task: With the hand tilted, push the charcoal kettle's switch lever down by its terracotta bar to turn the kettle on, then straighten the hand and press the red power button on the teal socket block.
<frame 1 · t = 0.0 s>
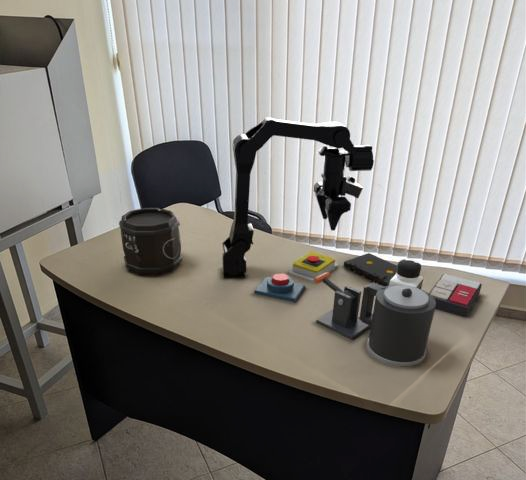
hand: (328, 224, 146), 15 cm above the table, tool pointing down, fingers open, 9 cm apart
kettle switch: (335, 288, 123), point 9 cm above the table, hinge at 18.0°
socket block: (279, 292, 140), on the table
power button: (280, 279, 138), point 4 cm above the table, slide at 0.1 cm
kettle: (395, 349, 117), on the table
switch base: (343, 325, 126), on the table
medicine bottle: (402, 302, 137), on the table
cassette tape: (377, 273, 152), on the table
emergency button: (313, 270, 153), on the table
calculator: (452, 300, 138), on the table
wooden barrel: (154, 264, 154), on the table
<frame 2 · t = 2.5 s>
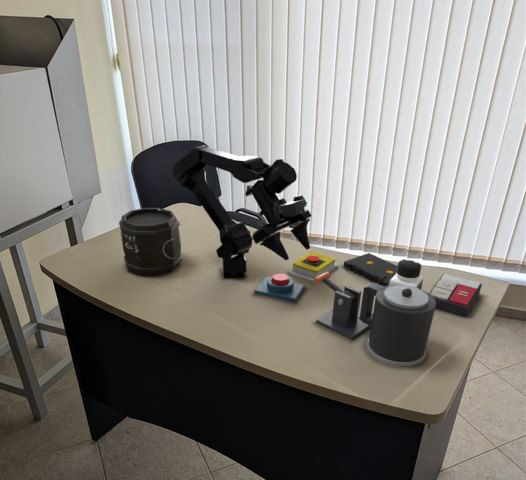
hand: (298, 254, 130), 14 cm above the table, tool tilted 40°, fingers open, 9 cm apart
nothing on the table moved.
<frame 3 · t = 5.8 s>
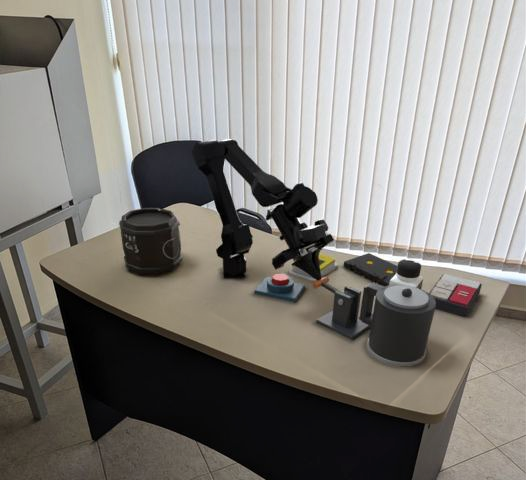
hand: (319, 279, 126), 10 cm above the table, tool tilted 45°, fingers closed, pressing on kettle switch
kettle switch: (334, 290, 123), point 9 cm above the table, hinge at 7.9°, touching gripper
everything else where it was.
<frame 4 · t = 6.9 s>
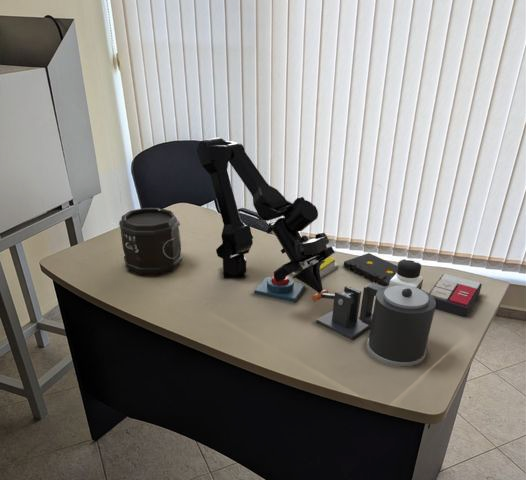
hand: (321, 291, 127), 7 cm above the table, tool tilted 45°, fingers closed, pressing on kettle switch
kettle switch: (334, 296, 124), point 7 cm above the table, hinge at -16.5°, touching gripper
everything else where it was.
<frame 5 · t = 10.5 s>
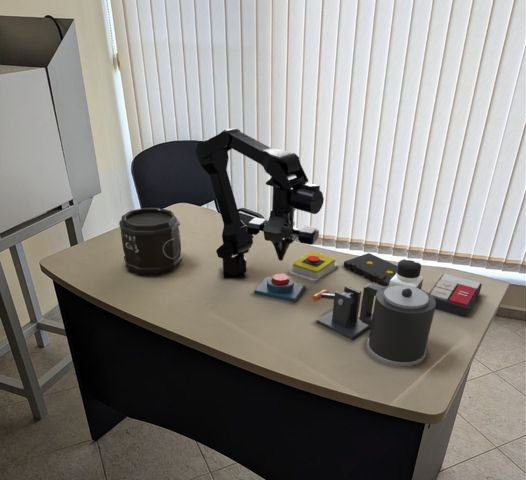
hand: (280, 260, 135), 10 cm above the table, tool pointing down, fingers closed
kettle switch: (334, 296, 124), point 7 cm above the table, hinge at -16.6°
everything else where it was.
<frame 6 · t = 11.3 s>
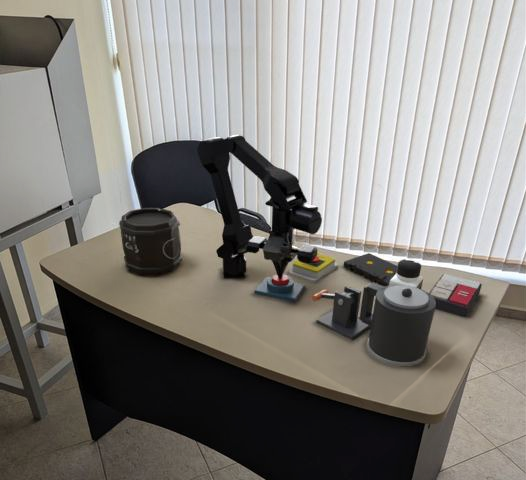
hand: (280, 277, 138), 5 cm above the table, tool pointing down, fingers closed, pressing on power button
power button: (280, 280, 138), point 4 cm above the table, slide at -0.1 cm, touching gripper
everything else where it was.
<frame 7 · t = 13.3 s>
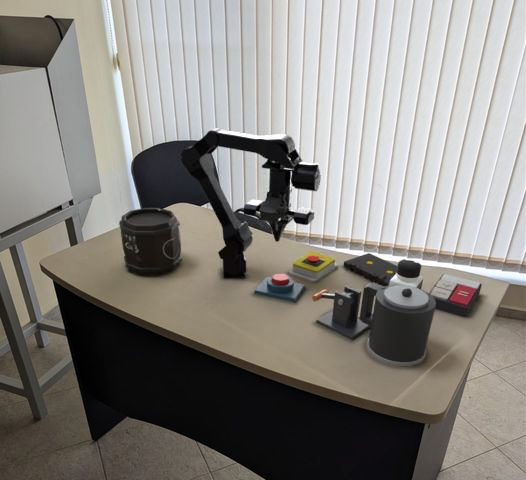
hand: (277, 241, 139), 13 cm above the table, tool pointing down, fingers closed
power button: (280, 279, 138), point 4 cm above the table, slide at 0.1 cm
everything else where it was.
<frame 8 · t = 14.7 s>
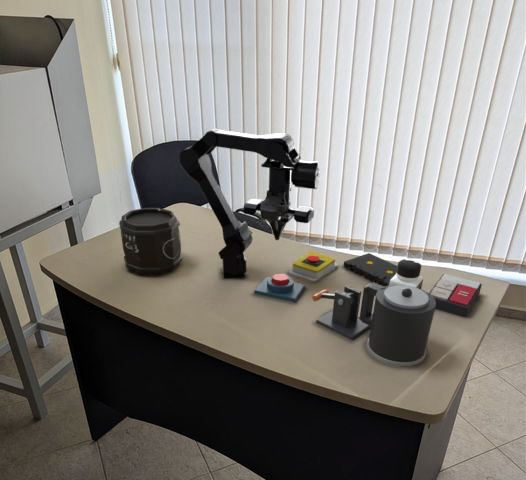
hand: (277, 239, 139), 13 cm above the table, tool pointing down, fingers closed
nothing on the table moved.
at the end: kettle switch at -17° (first picture: +18°); power button pushed in 1.3 cm at the most during the clip, back to where it started at the end; power button slide at 0.1 cm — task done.
